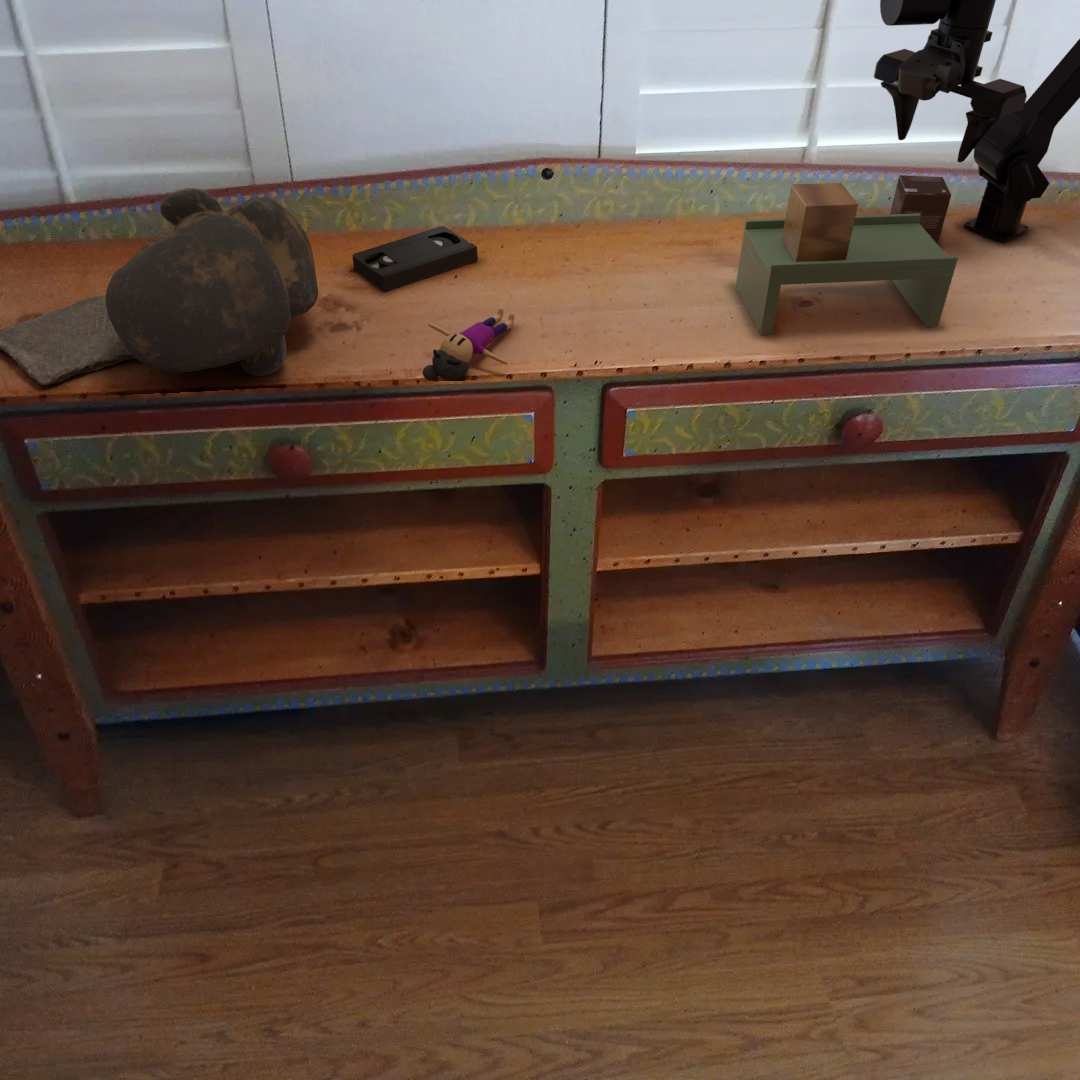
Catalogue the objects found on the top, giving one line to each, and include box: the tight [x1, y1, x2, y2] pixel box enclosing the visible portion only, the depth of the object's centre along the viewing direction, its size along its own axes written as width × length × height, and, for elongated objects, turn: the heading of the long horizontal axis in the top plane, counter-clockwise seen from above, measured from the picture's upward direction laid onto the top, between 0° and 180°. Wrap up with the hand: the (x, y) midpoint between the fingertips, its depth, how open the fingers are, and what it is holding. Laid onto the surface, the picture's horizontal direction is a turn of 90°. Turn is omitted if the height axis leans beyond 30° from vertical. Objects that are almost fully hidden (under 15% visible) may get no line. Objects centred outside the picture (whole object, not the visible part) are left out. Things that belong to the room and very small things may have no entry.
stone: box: [0, 295, 136, 386], centre depth 122 cm, size 17×3×15 cm
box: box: [889, 174, 952, 246], centre depth 145 cm, size 6×6×7 cm
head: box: [105, 187, 319, 377], centre depth 116 cm, size 21×23×25 cm
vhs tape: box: [351, 225, 479, 293], centre depth 138 cm, size 14×8×2 cm, turn 128°
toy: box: [422, 307, 516, 382], centre depth 122 cm, size 10×6×15 cm
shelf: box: [735, 213, 959, 336], centre depth 129 cm, size 22×12×9 cm, turn 96°
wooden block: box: [782, 182, 859, 262], centre depth 123 cm, size 6×6×7 cm
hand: (930, 150), depth 139 cm, fingers open, 9 cm apart
